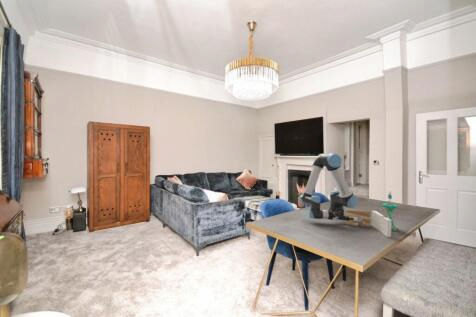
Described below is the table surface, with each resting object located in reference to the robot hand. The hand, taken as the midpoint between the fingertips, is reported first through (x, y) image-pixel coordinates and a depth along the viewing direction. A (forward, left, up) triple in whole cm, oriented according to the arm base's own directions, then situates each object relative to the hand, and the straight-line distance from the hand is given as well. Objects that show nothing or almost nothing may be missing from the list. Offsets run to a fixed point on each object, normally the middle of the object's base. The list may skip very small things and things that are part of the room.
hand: (354, 216), depth 177 cm
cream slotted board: (+10, +15, -7) cm, 20 cm away
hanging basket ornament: (+3, +24, -7) cm, 26 cm away
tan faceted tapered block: (0, +2, -7) cm, 7 cm away
